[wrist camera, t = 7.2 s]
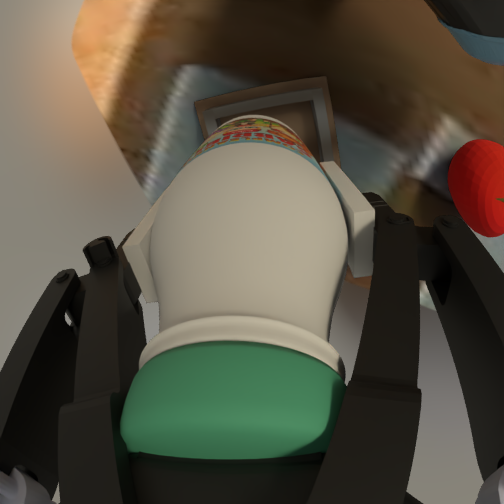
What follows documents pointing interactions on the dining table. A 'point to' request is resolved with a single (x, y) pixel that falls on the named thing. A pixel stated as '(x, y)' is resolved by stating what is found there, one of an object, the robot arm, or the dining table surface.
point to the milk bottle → (243, 303)
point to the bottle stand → (281, 112)
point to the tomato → (479, 186)
